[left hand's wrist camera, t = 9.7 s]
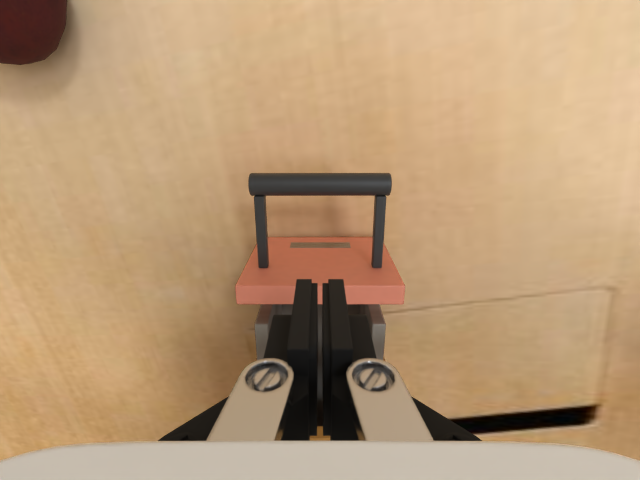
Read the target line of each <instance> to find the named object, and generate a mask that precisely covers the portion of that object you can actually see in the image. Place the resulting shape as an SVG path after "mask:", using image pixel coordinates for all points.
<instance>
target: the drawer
mask: <svg viewBox="0 0 640 480" xmlns="http://www.w3.org/2000/svg"><path fill="white" fill-rule="evenodd" d="M391 187H392V179H391V175H390V174H389V173H251V174H250V175H249V192H250V195H252V196H254V205H255V221H256V236H257V244H256V246H255V248H254V250H253V252H252V254H251V256H250V258H249V260H248V262H247V264H246V266H245V268H244V270H243V272H242V274H241V276H240V278H239V280H238V281H237V283H236V285H235V290H236V301H237V304H261V306H260V309H259V312H258V316H257V319H256V322H255V337H256V351H257V360H260V359H263V358H264V353H265V349H266V345H267V340H268V336H269V332H270V327H271V323H272V319H273V315H292V309H293V302H294V294H295V287H296V280H297V279H312V283H318V382H317V426H323V382H322V283H328V279H343V280H344V287H345V294H346V302H347V309H348V315H367V319H368V323H369V327H370V332H371V336H372V340H373V345H374V349H375V353H376V358H377V359H380V360H383V357H384V343H385V328H386V324H385V321H384V318H383V314H382V311H381V308H380V305H379V304H403V303H404V293H405V285H404V283H403V281H402V279H401V277H400V275H399V273H398V271H397V269H396V267H395V265H394V263H393V261H392V259H391V257H390V255H389V253H388V251H387V249H386V247H385V245H384V243H383V241H384V225H385V209H386V196H385V195H390V192H391ZM323 195H375V201H374V221H373V237H268V234H267V216H266V197H265V196H323Z"/></svg>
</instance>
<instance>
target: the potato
mask: <svg viewBox="0 0 640 480" xmlns="http://www.w3.org/2000/svg"><path fill="white" fill-rule="evenodd" d="M66 7H67V0H0V63H5V64H17V65H22V64H30V63H34V62H38V61H41V60H45V59H46V58H47V57H48V56H49V55H50V54H51V53H53V52H54V51H55V50H56V49H57V46H58V44H59V41H60V39H61V36H62V34H63V31H64V29H65V25H66Z"/></svg>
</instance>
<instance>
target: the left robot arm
mask: <svg viewBox="0 0 640 480" xmlns="http://www.w3.org/2000/svg"><path fill="white" fill-rule="evenodd" d="M317 382H318V283H312V279H297V280H296V287H295V294H294V302H293V309H292V315H273V319H272V323H271V327H270V332H269V336H268V340H267V345H266V349H265V353H264V358H263V359H260V360H257V361H255V362H252V363H250V364H249V365H248V366H246V367H245V368H244V370H243V371H242V372H241V374H240V376H239V378H238V380H237V382H236V384H235V386H234V388H233V389H232V391H231V393H230V395H229V397H227V398H225V399H224V400H222V401H221V402H219V403H217V404H216V405H214V406H212V407H211V408H209V409H208V410H206V411H204V412H203V413H201V414H199V415H198V416H196V417H195V418H193V419H191V420H190V421H188V422H186V423H185V424H183V425H181V426H180V427H178V428H177V429H175V430H173V431H172V432H170V433H168V434H167V435H165V436H164V437H162V438H161V439H160V440H158V441H126V442H100V443H80V444H71V445H62V446H55V447H50V448H45V449H40V450H35V451H30V452H27V453H23V454H20V455H17V456H13V457H10V458H7V459H3V460H0V480H640V460H637V459H633V458H630V457H627V456H623V455H620V454H617V453H613V452H610V451H605V450H600V449H595V448H590V447H585V446H578V445H569V444H560V443H540V442H514V441H482V440H480V439H479V438H478V437H476V436H475V435H473V434H472V433H470V432H468V431H467V430H465V429H463V428H462V427H460V426H459V425H457V424H455V423H454V422H452V421H450V420H449V419H447V418H445V417H444V416H442V415H441V414H439V413H437V412H436V411H434V410H432V409H431V408H429V407H428V406H426V405H424V404H423V403H421V402H419V401H418V400H416V399H415V398H413V397H411V395H410V393H409V391H408V389H407V388H406V386H405V384H404V382H403V380H402V378H401V376H400V374H399V372H398V371H397V370H396V368H395V367H394V366H392V365H391V364H390V363H388V362H385V361H383V360H380V359H377V358H376V353H375V349H374V345H373V340H372V336H371V332H370V327H369V323H368V319H367V315H348V309H347V302H346V294H345V287H344V280H343V279H328V283H322V382H323V436H330V441H310V436H317Z"/></svg>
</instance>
